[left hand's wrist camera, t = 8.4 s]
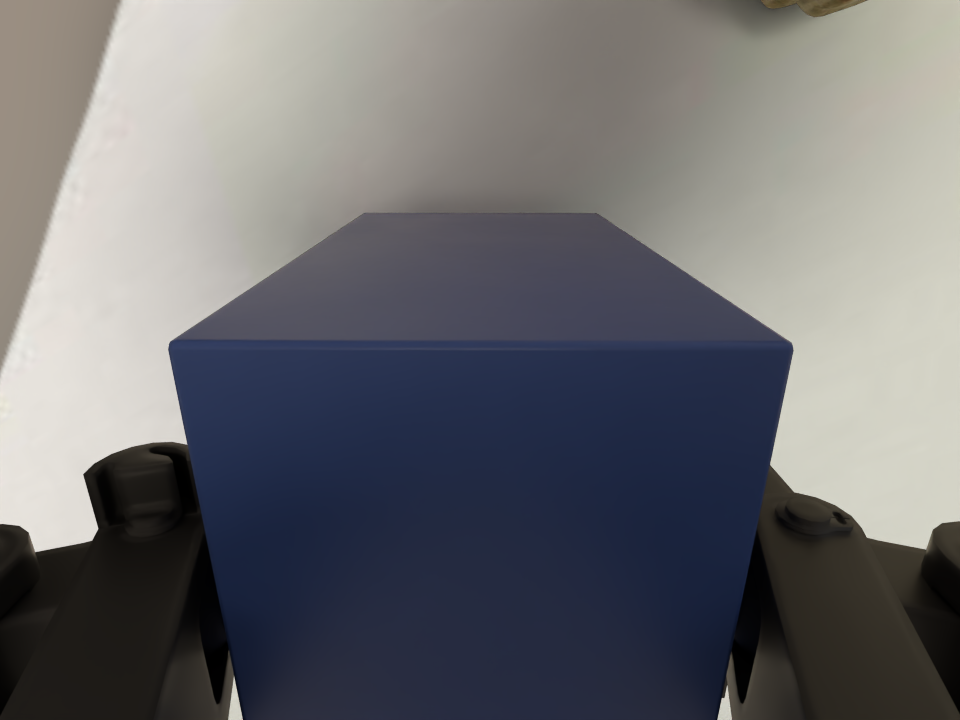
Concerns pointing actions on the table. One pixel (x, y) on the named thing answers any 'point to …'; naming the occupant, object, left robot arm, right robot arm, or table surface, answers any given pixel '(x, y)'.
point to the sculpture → (814, 5)
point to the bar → (480, 473)
